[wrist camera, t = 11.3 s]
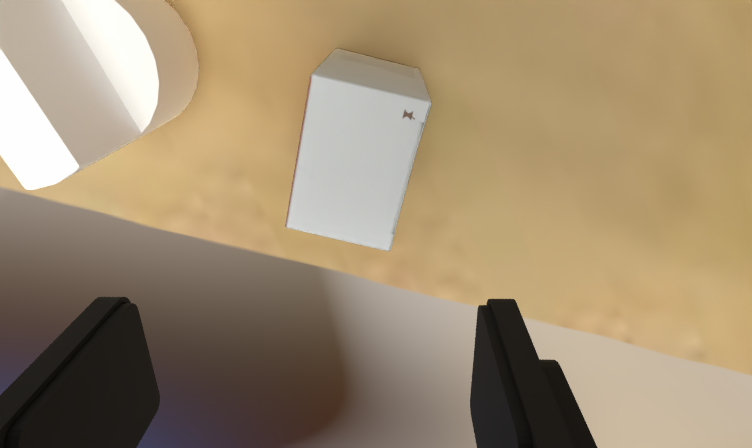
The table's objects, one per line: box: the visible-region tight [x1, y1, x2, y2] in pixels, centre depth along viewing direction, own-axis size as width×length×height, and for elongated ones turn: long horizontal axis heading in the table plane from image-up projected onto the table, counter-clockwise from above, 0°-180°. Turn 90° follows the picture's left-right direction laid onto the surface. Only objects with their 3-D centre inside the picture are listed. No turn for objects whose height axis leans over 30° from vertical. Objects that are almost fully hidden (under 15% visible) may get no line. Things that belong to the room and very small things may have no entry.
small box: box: [285, 48, 432, 251], centre depth 28 cm, size 8×6×10 cm
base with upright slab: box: [0, 0, 199, 190], centre depth 26 cm, size 9×9×12 cm
